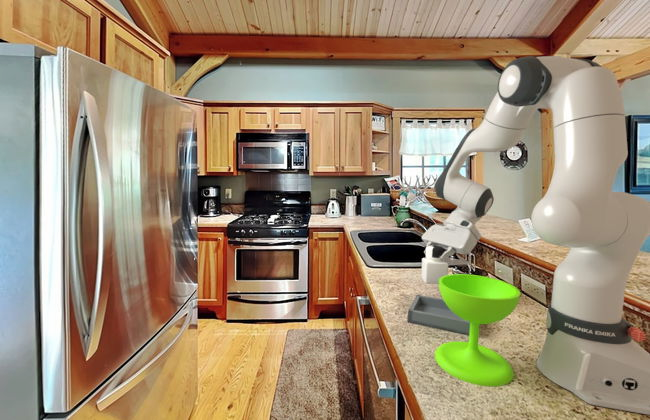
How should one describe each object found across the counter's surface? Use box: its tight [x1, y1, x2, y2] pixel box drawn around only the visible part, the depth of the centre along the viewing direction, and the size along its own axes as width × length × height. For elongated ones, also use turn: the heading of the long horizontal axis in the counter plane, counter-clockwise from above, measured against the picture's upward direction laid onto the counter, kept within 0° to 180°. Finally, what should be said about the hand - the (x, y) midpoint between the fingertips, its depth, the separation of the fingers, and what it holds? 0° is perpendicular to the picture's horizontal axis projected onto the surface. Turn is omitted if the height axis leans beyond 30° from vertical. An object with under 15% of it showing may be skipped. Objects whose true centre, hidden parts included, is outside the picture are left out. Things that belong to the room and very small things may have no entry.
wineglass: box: [434, 273, 521, 387], centre depth 68 cm, size 16×16×18 cm
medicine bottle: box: [420, 245, 449, 285], centre depth 104 cm, size 7×7×12 cm
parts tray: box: [407, 294, 470, 336], centre depth 90 cm, size 18×14×4 cm
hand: (433, 256), depth 104 cm, fingers closed on medicine bottle, 6 cm apart
